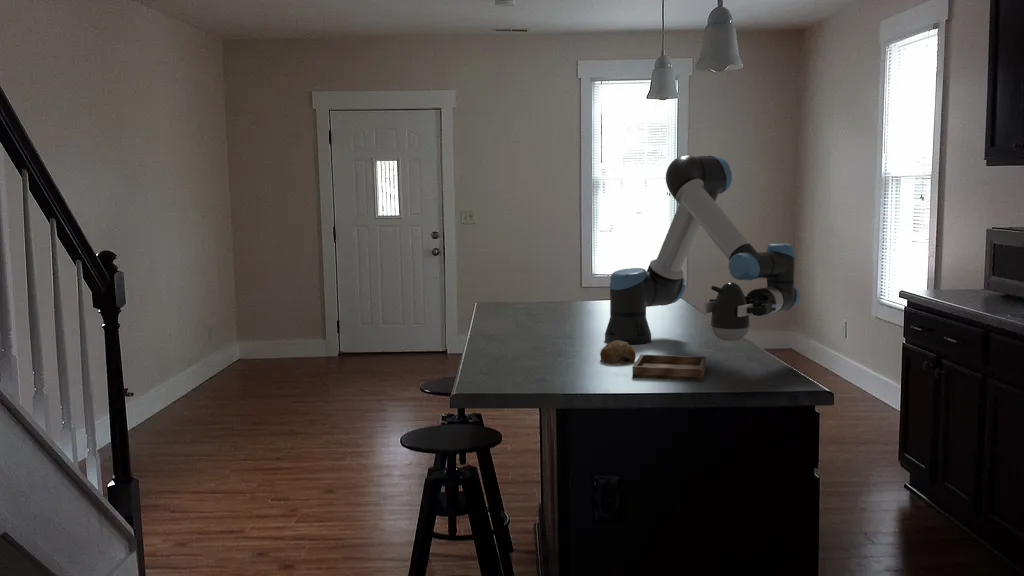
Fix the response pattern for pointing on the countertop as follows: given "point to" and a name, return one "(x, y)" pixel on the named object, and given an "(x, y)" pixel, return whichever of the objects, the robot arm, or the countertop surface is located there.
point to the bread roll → (618, 353)
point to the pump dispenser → (729, 313)
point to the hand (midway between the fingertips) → (721, 309)
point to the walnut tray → (669, 367)
